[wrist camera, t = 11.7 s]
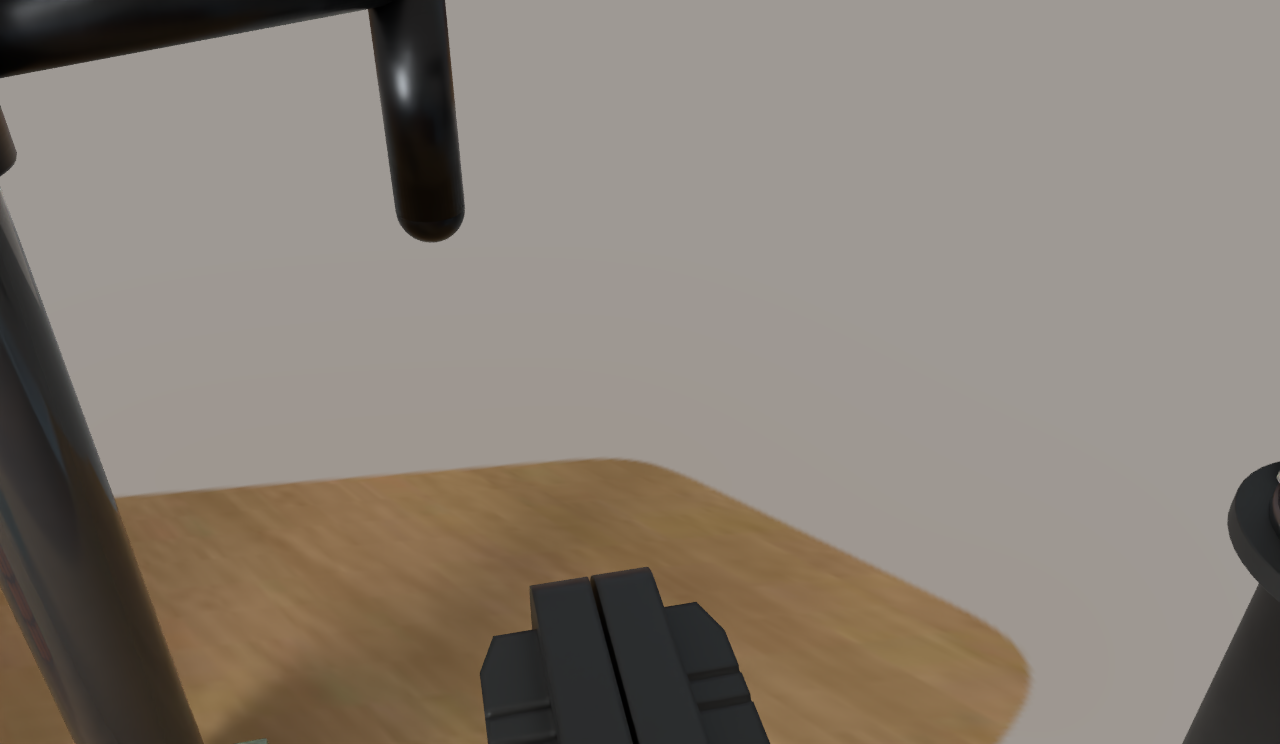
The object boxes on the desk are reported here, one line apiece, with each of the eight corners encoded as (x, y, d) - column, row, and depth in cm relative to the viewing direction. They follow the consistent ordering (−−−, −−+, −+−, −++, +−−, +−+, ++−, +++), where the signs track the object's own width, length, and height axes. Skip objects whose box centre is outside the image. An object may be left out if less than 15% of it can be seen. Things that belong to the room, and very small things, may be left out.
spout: (-78, 476, 16) (-399, -172, 11) (-128, 397, 18) (-421, -187, 13) (502, 250, 23) (467, -206, 18) (422, 210, 25) (372, -214, 20)
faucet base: (277, 770, 29) (77, 123, 19) (260, 980, 25) (-25, 264, 14) (148, 795, 29) (-138, 137, 18) (103, 1014, 24) (-325, 291, 13)
